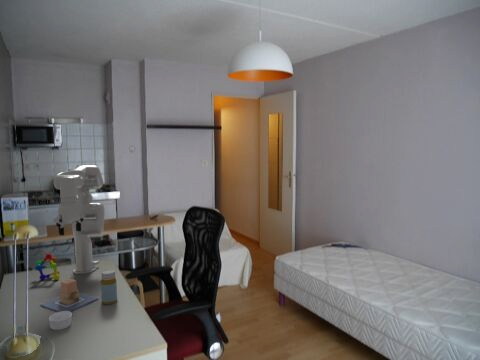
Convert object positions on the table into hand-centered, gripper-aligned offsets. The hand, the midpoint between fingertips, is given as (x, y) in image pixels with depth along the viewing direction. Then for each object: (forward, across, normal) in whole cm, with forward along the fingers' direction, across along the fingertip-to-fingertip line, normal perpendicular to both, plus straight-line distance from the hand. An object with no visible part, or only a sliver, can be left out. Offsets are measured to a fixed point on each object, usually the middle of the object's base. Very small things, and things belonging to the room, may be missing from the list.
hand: (70, 233), depth 186 cm
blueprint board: (+30, +11, +13) cm, 35 cm away
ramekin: (+31, +27, +30) cm, 51 cm away
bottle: (+31, +1, +29) cm, 42 cm away
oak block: (+30, +11, +13) cm, 34 cm away
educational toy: (+31, -3, -26) cm, 40 cm away
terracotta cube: (+25, +11, +13) cm, 30 cm away
